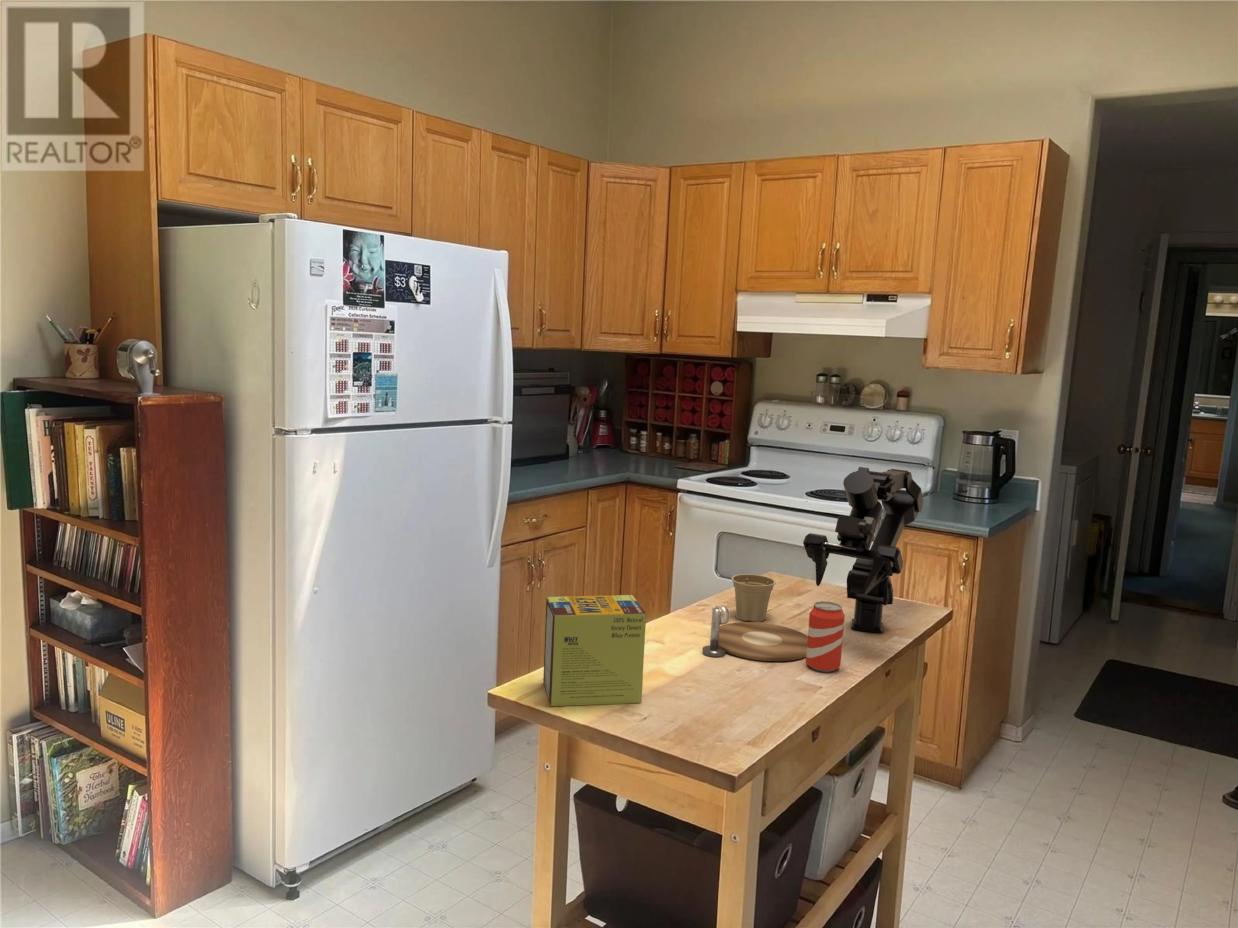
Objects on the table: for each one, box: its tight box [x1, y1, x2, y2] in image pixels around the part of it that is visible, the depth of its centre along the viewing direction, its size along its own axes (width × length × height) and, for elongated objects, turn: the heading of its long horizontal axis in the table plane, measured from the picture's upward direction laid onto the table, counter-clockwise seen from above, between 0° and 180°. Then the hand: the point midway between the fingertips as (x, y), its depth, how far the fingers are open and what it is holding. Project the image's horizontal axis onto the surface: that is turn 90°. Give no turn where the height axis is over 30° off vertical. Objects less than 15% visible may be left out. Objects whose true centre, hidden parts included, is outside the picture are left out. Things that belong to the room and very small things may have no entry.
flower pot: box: [731, 573, 776, 623], centre depth 196 cm, size 9×9×9 cm
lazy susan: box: [718, 621, 808, 662], centre depth 180 cm, size 20×20×1 cm
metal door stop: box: [701, 605, 730, 658], centre depth 173 cm, size 4×4×9 cm
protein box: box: [542, 594, 647, 707], centre depth 151 cm, size 10×15×16 cm
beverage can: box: [805, 600, 845, 673], centre depth 168 cm, size 6×6×12 cm
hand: (840, 589), depth 174 cm, fingers open, 9 cm apart
